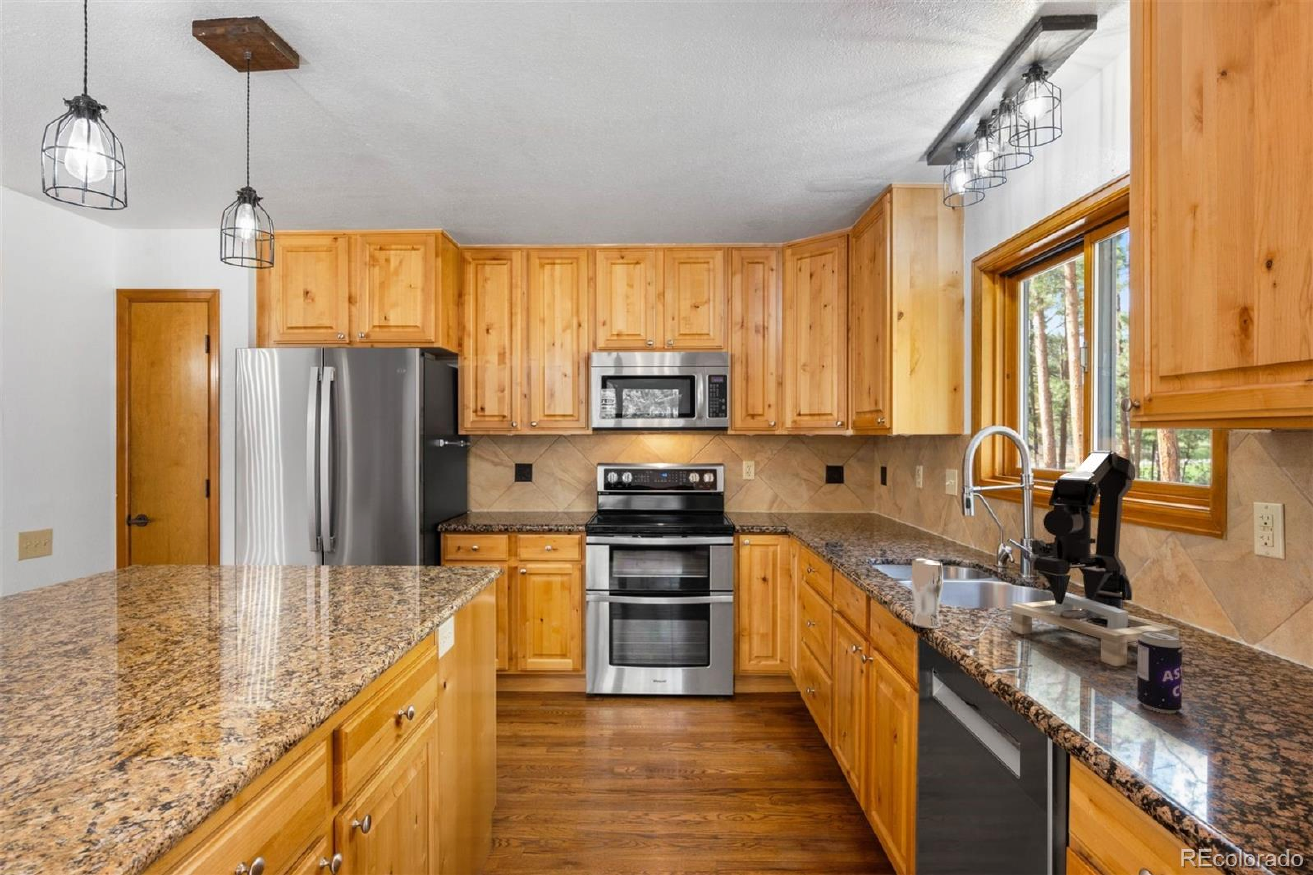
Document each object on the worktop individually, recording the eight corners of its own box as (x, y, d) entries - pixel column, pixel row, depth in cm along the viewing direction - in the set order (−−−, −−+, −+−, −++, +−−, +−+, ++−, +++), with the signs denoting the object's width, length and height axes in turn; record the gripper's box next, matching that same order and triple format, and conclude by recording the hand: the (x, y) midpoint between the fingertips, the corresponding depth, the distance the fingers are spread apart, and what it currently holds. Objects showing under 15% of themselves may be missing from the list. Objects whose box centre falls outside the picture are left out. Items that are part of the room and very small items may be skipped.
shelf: (1067, 624, 151) (1068, 599, 151) (1178, 657, 128) (1178, 628, 128) (1010, 630, 145) (1010, 604, 145) (1116, 666, 122) (1116, 635, 122)
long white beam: (1063, 615, 144) (1065, 591, 144) (1126, 637, 131) (1128, 611, 130) (1054, 616, 143) (1055, 592, 143) (1116, 639, 130) (1118, 612, 129)
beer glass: (911, 627, 146) (912, 563, 146) (909, 619, 153) (910, 557, 153) (944, 630, 144) (945, 565, 144) (940, 622, 151) (941, 559, 151)
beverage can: (1164, 717, 99) (1165, 642, 99) (1128, 703, 105) (1129, 631, 105) (1190, 713, 101) (1191, 639, 101) (1153, 699, 106) (1154, 629, 106)
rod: (1109, 614, 140) (1109, 605, 140) (1118, 616, 138) (1118, 607, 138) (1060, 619, 135) (1060, 609, 135) (1068, 621, 133) (1068, 612, 133)
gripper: (1071, 526, 151) (1070, 591, 150) (1012, 528, 145) (1011, 596, 144) (1119, 533, 140) (1118, 603, 140) (1057, 536, 134) (1056, 609, 134)
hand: (1074, 602), depth 140 cm, fingers open, 9 cm apart
